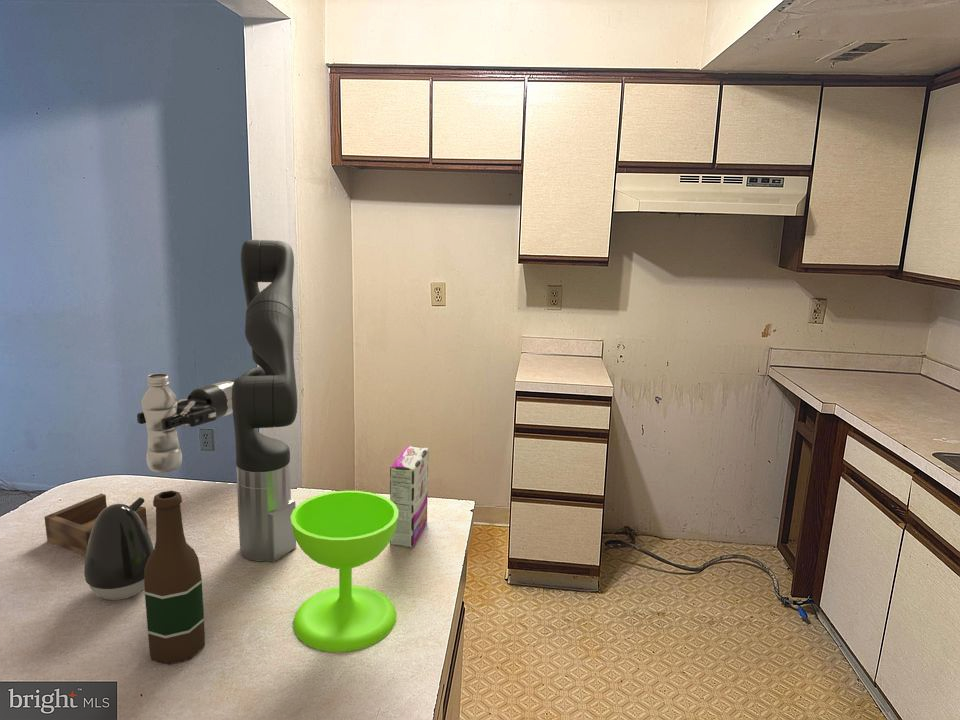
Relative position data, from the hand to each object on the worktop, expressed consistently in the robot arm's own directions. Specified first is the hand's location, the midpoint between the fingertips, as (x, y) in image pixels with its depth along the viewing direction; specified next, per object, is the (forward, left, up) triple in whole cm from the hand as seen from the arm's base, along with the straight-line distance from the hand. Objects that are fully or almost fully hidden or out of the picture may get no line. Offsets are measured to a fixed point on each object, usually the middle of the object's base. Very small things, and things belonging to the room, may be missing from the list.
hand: (151, 422), depth 128 cm
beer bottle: (-37, +28, -20) cm, 50 cm away
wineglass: (-54, +11, -20) cm, 58 cm away
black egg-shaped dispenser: (-18, +22, -20) cm, 34 cm away
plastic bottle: (0, -2, -11) cm, 11 cm away
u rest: (+1, +12, -19) cm, 23 cm away
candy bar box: (-49, -17, -20) cm, 56 cm away
